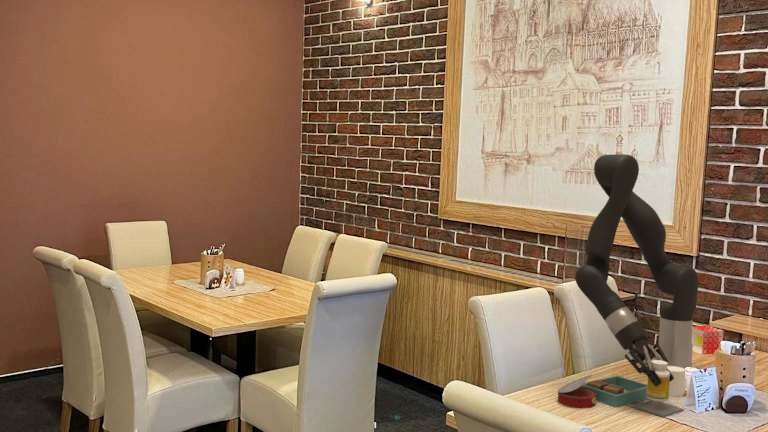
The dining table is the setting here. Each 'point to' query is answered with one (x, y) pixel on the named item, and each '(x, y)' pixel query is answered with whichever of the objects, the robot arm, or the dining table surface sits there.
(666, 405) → the coaster
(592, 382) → the walnut block
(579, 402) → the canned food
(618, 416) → the dining table surface
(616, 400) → the teal tray
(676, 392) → the cream cylinder
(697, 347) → the red patterned cube
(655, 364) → the supplement bottle
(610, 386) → the walnut block
